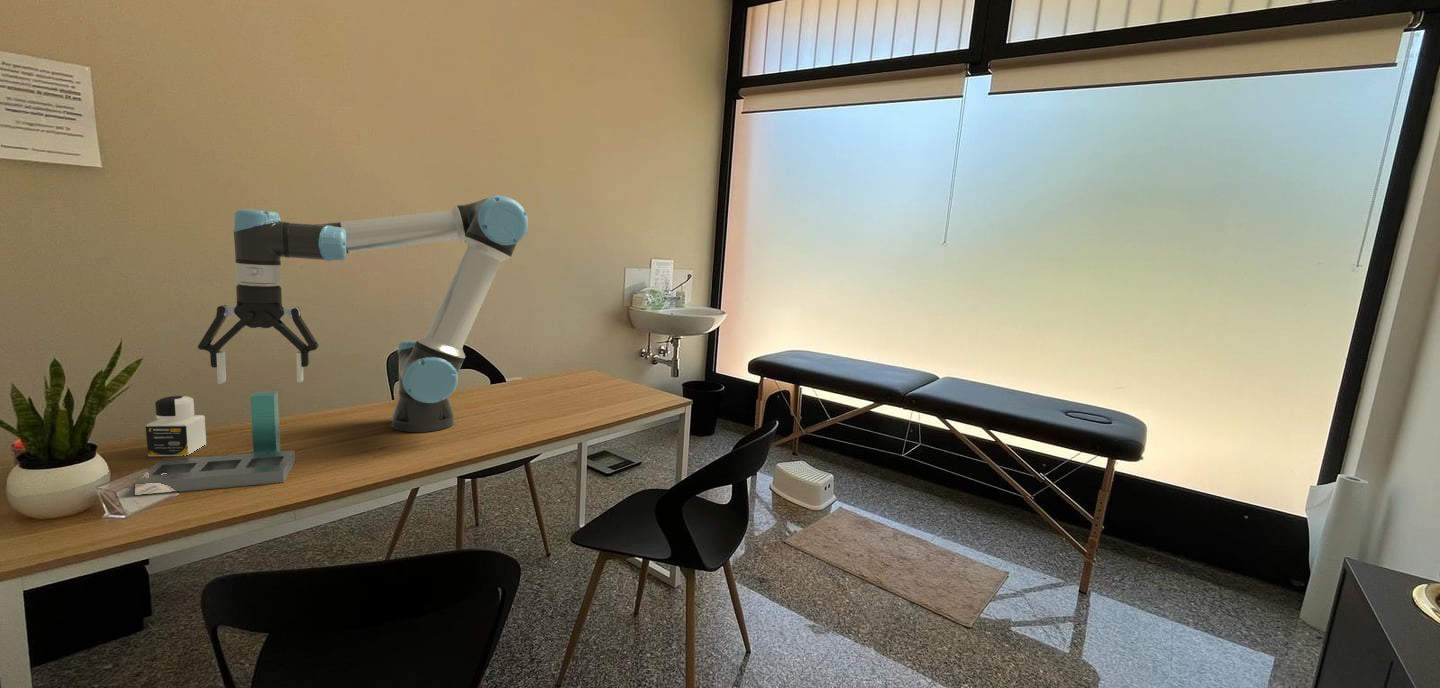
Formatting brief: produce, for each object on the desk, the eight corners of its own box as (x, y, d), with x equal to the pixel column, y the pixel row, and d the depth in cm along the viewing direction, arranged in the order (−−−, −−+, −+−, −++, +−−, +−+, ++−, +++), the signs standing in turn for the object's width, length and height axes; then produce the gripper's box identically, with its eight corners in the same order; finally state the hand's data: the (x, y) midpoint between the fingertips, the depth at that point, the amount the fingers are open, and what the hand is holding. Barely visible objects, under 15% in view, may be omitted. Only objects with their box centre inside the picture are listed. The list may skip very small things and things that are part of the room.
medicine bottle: (147, 457, 122) (142, 402, 121) (168, 445, 129) (164, 393, 127) (188, 456, 124) (184, 402, 123) (207, 445, 131) (203, 393, 129)
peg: (280, 450, 131) (277, 390, 129) (276, 456, 128) (273, 395, 125) (258, 452, 129) (255, 391, 127) (253, 458, 126) (250, 396, 124)
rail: (295, 461, 126) (294, 450, 126) (283, 482, 115) (283, 470, 115) (160, 471, 116) (159, 460, 115) (134, 495, 105) (133, 483, 105)
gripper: (174, 281, 114) (180, 387, 117) (327, 288, 125) (328, 384, 128) (188, 279, 120) (193, 378, 123) (331, 285, 132) (332, 376, 135)
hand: (262, 381), depth 126 cm, fingers open, 13 cm apart
